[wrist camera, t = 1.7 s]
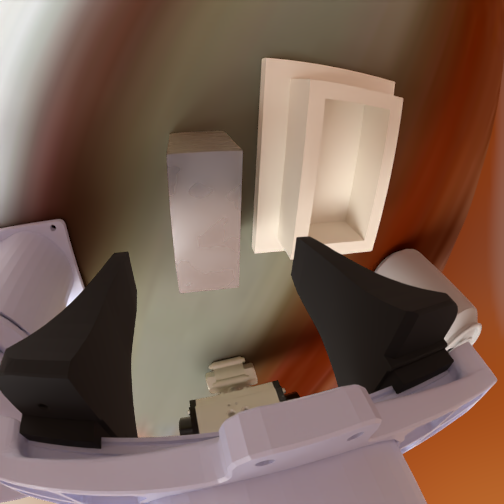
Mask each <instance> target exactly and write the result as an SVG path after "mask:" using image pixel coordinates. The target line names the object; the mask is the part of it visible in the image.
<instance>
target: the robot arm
mask: <svg viewBox="0 0 504 504" xmlns="http://www.w3.org/2000/svg"><path fill="white" fill-rule="evenodd" d="M52 225H54V226H55V227H56V229H54V228H53V227H52ZM291 276H292V279H293V282H294V285H295V287H296V290H297V292H298V295H299V296H300V298H301V300H302V302H303V304H304V306H305V308H306V309H307V311H308V313H309V315H310V317H311V319H312V320H313V322H314V324H315V326H316V328H317V330H318V332H319V334H320V336H321V338H322V341H323V343H324V346H325V348H326V351H327V353H328V356H329V359H330V362H331V365H332V368H333V371H334V374H335V377H336V380H337V384H338V388H334V389H331V390H327V391H324V392H320V393H316V394H312V395H308V396H304V397H300V398H296V399H292V400H288V401H283V402H278V403H274V404H269V405H264V406H259V407H255V408H252V409H248V410H245V411H241V412H238V413H237V414H235V415H233V416H231V417H229V418H228V419H226V420H225V421H224V422H223V424H222V425H221V427H220V429H219V431H218V432H211V433H202V434H193V435H182V436H168V437H146V438H138V436H137V430H136V423H135V415H134V406H133V395H132V378H131V353H132V344H133V335H134V327H135V319H136V311H137V289H136V285H135V281H134V277H133V272H132V268H131V263H130V258H129V253H128V252H120V253H114V254H113V255H112V256H111V258H110V259H109V260H108V261H107V262H106V264H105V265H104V266H103V267H102V269H101V270H100V271H99V272H98V274H97V275H96V276H95V277H94V278H93V280H92V281H91V282H90V283H89V284H88V285H87V286H86V287H84V284H83V281H82V278H81V275H80V272H79V269H78V266H77V263H76V259H75V256H74V253H73V249H72V246H71V242H70V239H69V235H68V231H67V227H66V224H65V222H64V221H63V220H62V219H55V220H48V221H41V222H35V223H29V224H22V225H17V226H11V227H5V228H0V503H1V502H7V501H12V500H17V499H21V498H25V497H29V496H30V497H34V498H37V499H41V500H46V501H49V502H53V503H57V504H427V503H426V501H425V499H424V497H423V494H422V493H421V490H420V488H419V487H418V485H417V482H416V480H415V478H414V476H413V474H412V472H411V470H410V469H409V466H408V464H407V463H406V461H405V459H404V457H403V455H402V454H403V453H405V452H407V451H408V450H410V449H412V448H413V447H415V446H417V445H418V444H420V443H422V442H423V441H425V440H426V439H428V438H429V437H431V436H433V435H434V434H435V433H437V432H439V431H440V430H442V429H443V428H444V427H446V426H448V425H449V424H450V423H452V422H453V421H455V420H456V419H458V418H459V417H460V416H462V415H463V414H464V413H466V412H467V411H468V410H469V409H470V408H471V407H473V405H475V404H476V403H477V402H478V401H479V400H480V399H481V398H482V397H483V396H484V394H485V393H486V392H487V391H488V390H489V389H490V388H491V387H492V386H493V385H494V384H495V383H496V382H497V378H496V377H495V375H494V374H493V373H492V371H491V370H490V369H489V367H488V366H487V365H486V363H485V362H484V361H483V359H482V358H481V357H480V355H479V354H478V353H477V352H476V350H475V349H474V348H473V347H472V345H471V344H470V343H469V342H466V343H464V344H462V345H460V346H458V347H456V348H454V349H453V350H452V351H451V352H449V353H448V352H447V351H446V349H445V348H446V347H447V346H448V344H447V342H446V341H445V340H444V337H445V336H446V334H447V333H448V331H449V329H450V328H451V326H452V324H453V323H454V321H455V319H456V316H457V313H458V306H457V304H456V303H455V302H454V301H453V299H452V298H451V297H450V296H449V295H448V294H447V293H443V292H438V291H432V290H427V289H422V288H418V287H415V286H411V285H407V284H404V283H401V282H398V281H395V280H393V279H390V278H387V277H385V276H382V275H380V274H378V273H375V272H373V271H371V270H369V269H367V268H365V267H363V266H361V265H359V264H357V263H355V262H353V261H352V260H350V259H348V258H346V257H345V256H343V255H341V254H340V253H338V252H336V251H334V250H333V249H331V248H330V247H328V246H326V245H325V244H323V243H321V242H319V241H318V240H316V239H314V238H312V237H310V236H307V237H297V238H296V245H295V252H294V259H293V266H292V272H291ZM66 306H67V307H66Z"/></svg>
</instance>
